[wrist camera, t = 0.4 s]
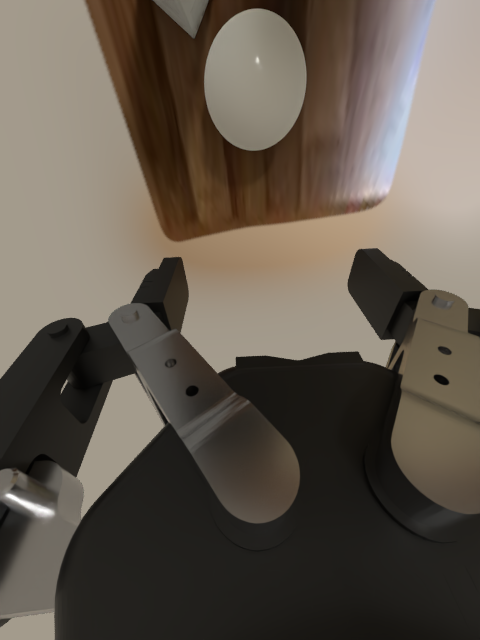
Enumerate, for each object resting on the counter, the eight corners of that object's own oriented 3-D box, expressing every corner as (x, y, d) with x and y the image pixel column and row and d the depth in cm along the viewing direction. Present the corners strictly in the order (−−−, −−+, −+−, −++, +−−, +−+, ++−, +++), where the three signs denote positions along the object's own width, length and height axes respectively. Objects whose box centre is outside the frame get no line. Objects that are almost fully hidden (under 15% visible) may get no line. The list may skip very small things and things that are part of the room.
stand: (218, 3, 23) (216, -15, 20) (313, 47, 25) (325, 37, 22) (199, 132, 29) (196, 133, 26) (277, 159, 31) (283, 163, 28)
